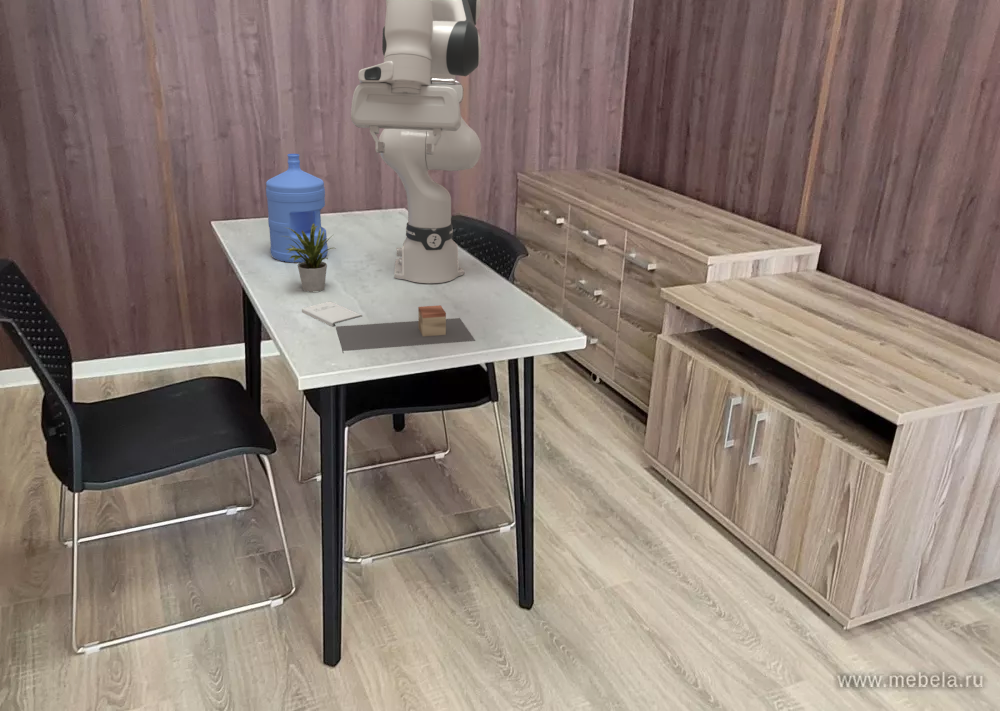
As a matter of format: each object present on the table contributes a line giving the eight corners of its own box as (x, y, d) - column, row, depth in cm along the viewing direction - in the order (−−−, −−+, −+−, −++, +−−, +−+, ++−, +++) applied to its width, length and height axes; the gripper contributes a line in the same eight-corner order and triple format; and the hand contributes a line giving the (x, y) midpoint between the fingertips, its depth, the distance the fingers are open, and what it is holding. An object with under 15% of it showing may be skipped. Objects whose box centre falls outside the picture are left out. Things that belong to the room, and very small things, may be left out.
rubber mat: (335, 329, 180) (335, 326, 179) (459, 320, 187) (459, 317, 187) (343, 353, 167) (343, 350, 167) (475, 343, 175) (475, 340, 175)
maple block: (418, 328, 180) (418, 306, 178) (440, 326, 182) (440, 305, 180) (422, 336, 176) (422, 314, 174) (445, 334, 177) (445, 313, 175)
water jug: (259, 258, 226) (250, 156, 215) (292, 245, 240) (285, 148, 229) (307, 266, 221) (301, 161, 210) (338, 252, 235) (334, 153, 224)
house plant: (283, 279, 210) (279, 216, 204) (338, 277, 213) (335, 216, 207) (281, 297, 197) (277, 231, 191) (340, 295, 200) (337, 230, 194)
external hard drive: (332, 329, 181) (301, 314, 189) (362, 321, 187) (331, 306, 195) (332, 322, 180) (301, 307, 188) (362, 314, 186) (331, 300, 194)
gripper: (464, 83, 154) (462, 158, 155) (356, 79, 154) (354, 154, 155) (462, 74, 148) (459, 152, 149) (349, 70, 148) (347, 148, 149)
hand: (405, 153), depth 152 cm, fingers open, 8 cm apart
